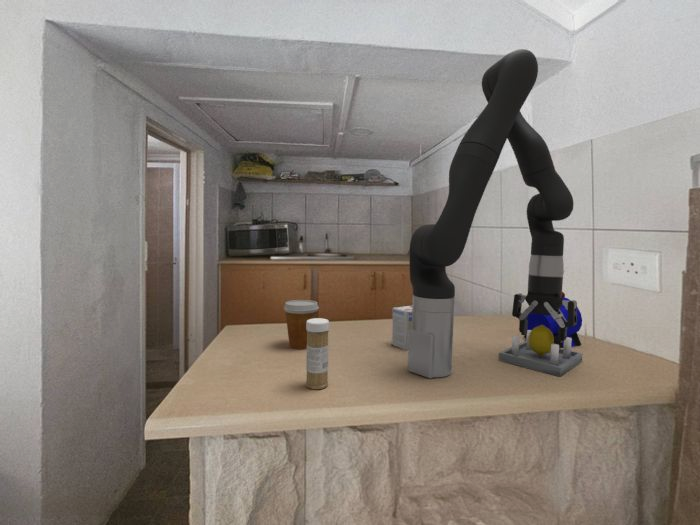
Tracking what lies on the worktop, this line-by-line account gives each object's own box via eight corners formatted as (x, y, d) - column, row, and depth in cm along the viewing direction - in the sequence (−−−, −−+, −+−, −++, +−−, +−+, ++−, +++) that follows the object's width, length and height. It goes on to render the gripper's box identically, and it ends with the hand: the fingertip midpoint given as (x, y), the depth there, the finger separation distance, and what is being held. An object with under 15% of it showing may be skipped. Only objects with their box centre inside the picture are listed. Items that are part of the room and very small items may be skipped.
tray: (560, 376, 81) (561, 350, 80) (498, 360, 91) (499, 336, 91) (582, 361, 92) (583, 337, 91) (524, 348, 102) (525, 326, 102)
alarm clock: (583, 345, 106) (586, 294, 105) (552, 349, 101) (556, 296, 100) (546, 334, 117) (549, 288, 116) (517, 338, 113) (520, 289, 112)
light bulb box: (418, 339, 109) (419, 303, 108) (435, 345, 103) (436, 307, 102) (390, 344, 103) (391, 306, 102) (406, 351, 97) (407, 311, 97)
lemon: (540, 360, 88) (542, 327, 88) (522, 353, 93) (525, 322, 93) (557, 359, 90) (560, 327, 89) (539, 352, 95) (542, 322, 95)
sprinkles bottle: (317, 379, 77) (318, 316, 76) (332, 385, 74) (333, 320, 73) (300, 385, 74) (301, 319, 73) (316, 392, 70) (316, 323, 69)
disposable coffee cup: (299, 339, 107) (300, 298, 106) (325, 345, 101) (326, 302, 100) (276, 346, 99) (276, 303, 98) (302, 353, 93) (302, 307, 93)
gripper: (509, 272, 92) (506, 334, 94) (573, 277, 82) (568, 348, 83) (522, 270, 98) (519, 330, 99) (583, 275, 87) (578, 342, 88)
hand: (541, 338), depth 91 cm, fingers open, 8 cm apart
